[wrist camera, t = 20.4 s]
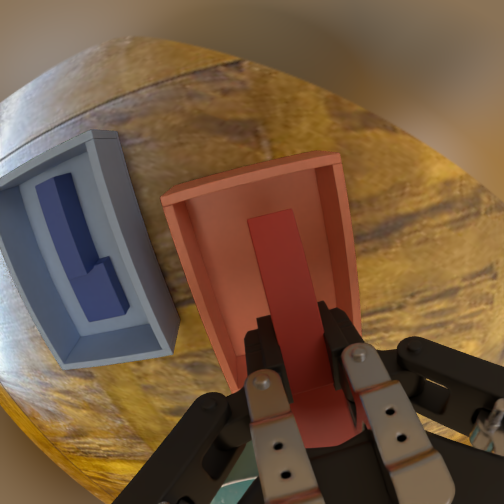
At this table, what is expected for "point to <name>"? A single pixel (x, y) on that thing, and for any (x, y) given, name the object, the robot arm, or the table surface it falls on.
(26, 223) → the blue bin
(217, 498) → the bowl
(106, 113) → the table surface
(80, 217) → the blue bar
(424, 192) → the table surface
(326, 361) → the red stepped block
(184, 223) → the red bin
